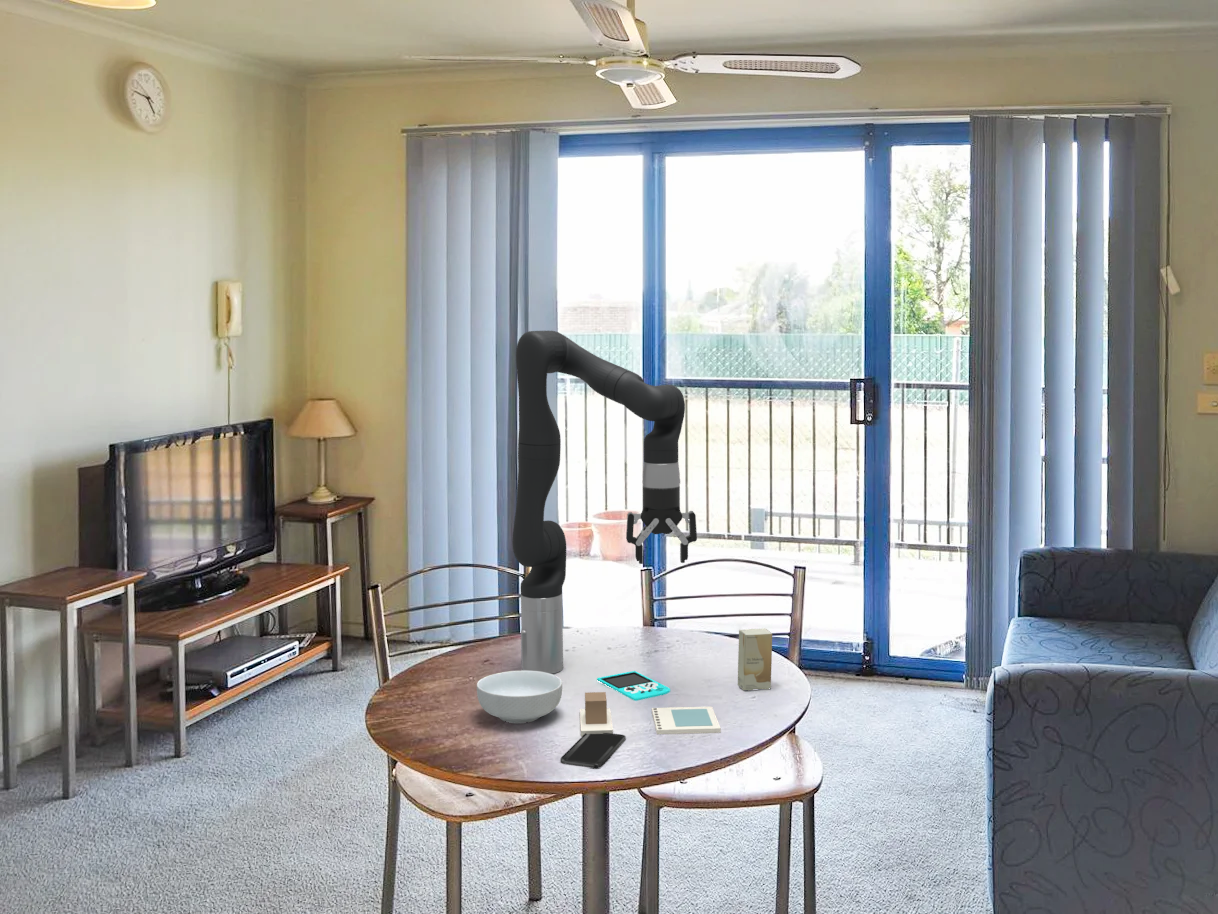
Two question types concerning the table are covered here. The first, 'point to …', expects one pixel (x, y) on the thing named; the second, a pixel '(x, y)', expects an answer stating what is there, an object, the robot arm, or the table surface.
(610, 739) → the phone
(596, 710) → the brown cream block
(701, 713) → the ticket pad
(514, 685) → the cereal bowl
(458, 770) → the table surface
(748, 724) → the table surface
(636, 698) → the handheld game console
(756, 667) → the skincare box
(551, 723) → the table surface
